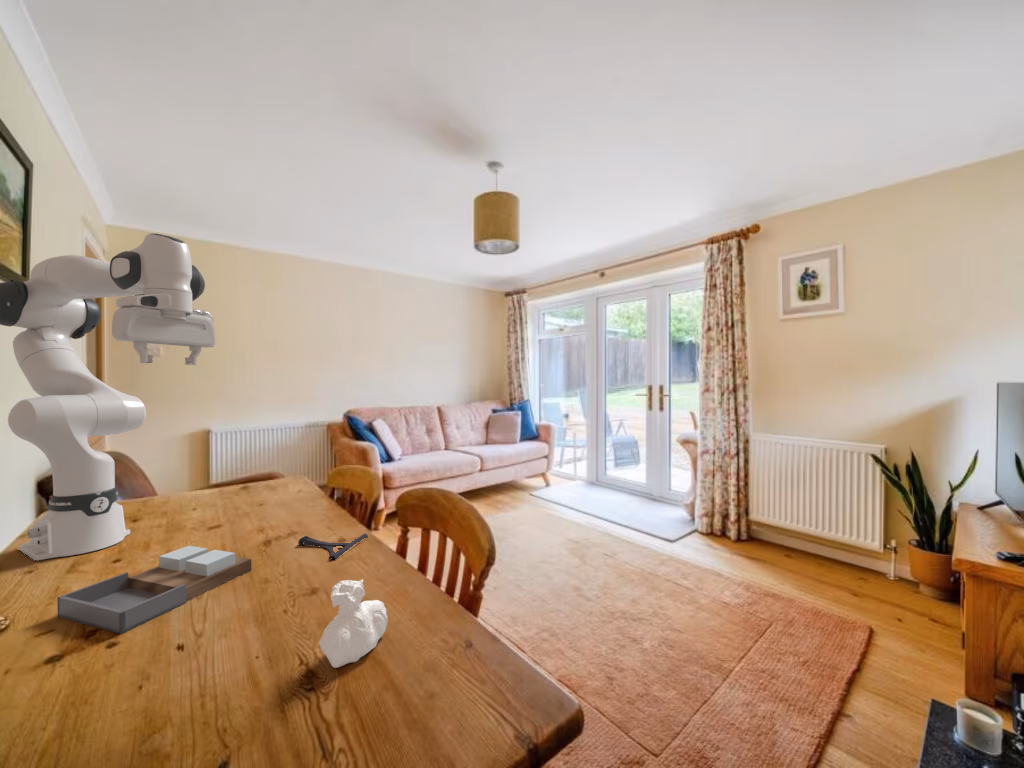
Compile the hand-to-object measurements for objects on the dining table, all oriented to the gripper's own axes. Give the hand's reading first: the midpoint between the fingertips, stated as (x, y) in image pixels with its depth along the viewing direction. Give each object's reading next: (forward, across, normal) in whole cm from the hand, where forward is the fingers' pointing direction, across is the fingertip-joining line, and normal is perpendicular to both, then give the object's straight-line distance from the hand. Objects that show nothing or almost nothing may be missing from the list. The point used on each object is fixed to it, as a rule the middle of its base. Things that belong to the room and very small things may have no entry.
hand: (169, 364), depth 97 cm
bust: (+47, +14, +62) cm, 79 cm away
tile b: (+44, +4, +18) cm, 48 cm away
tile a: (+44, +4, +10) cm, 45 cm away
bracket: (+47, -18, +28) cm, 58 cm away
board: (+46, +5, +14) cm, 49 cm away
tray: (+46, +17, +14) cm, 51 cm away
